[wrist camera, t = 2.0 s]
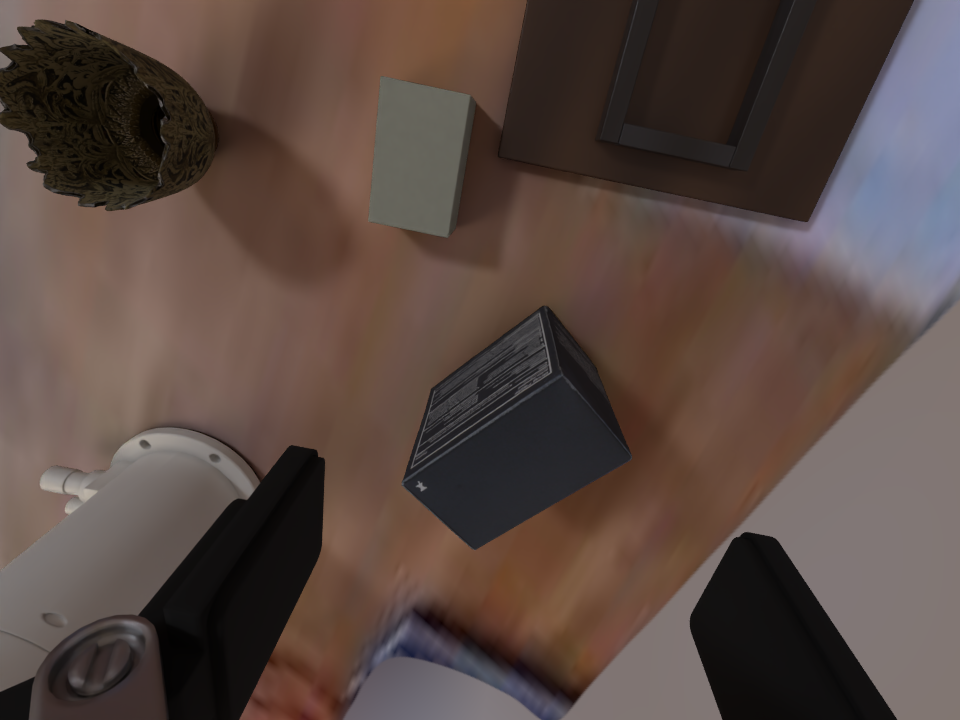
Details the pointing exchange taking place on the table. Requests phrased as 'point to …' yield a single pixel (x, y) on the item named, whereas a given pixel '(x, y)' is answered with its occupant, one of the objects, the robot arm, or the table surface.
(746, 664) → the robot arm
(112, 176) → the cup
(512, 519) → the small box
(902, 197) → the table surface
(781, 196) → the mounting board
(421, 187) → the gray rectangular block
